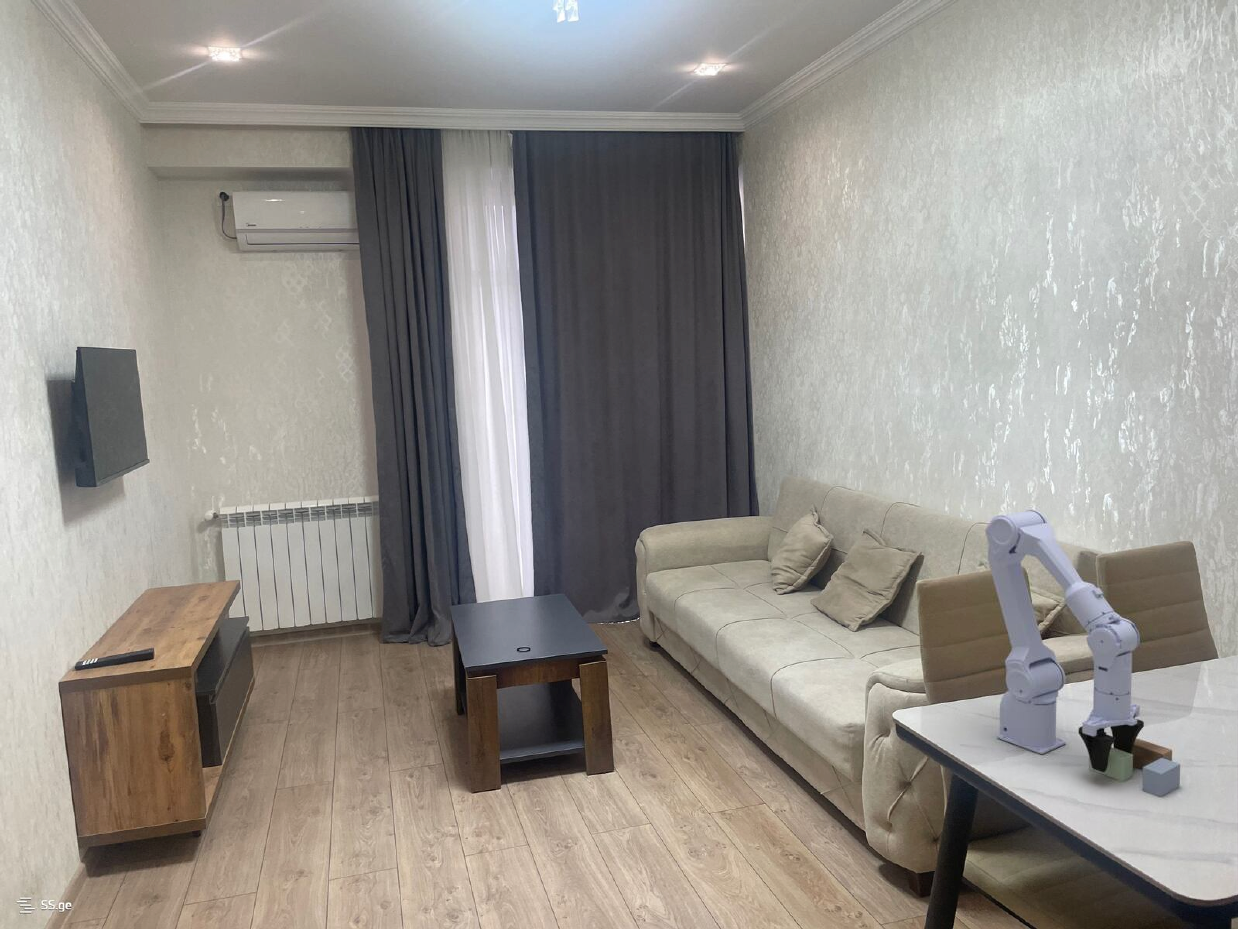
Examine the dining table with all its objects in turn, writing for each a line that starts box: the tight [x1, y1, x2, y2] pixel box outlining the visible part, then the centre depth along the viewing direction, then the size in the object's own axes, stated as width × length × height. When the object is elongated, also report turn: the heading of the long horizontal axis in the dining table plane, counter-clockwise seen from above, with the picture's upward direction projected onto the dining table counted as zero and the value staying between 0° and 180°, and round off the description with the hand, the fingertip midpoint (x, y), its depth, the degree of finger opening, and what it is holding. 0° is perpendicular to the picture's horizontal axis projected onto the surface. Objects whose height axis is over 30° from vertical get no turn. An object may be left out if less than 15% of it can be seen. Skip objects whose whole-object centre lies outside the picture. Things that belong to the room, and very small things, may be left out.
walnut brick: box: [1131, 738, 1173, 770], centre depth 158 cm, size 6×3×4 cm, turn 32°
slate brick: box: [1141, 758, 1181, 798], centre depth 150 cm, size 6×3×4 cm, turn 122°
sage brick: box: [1088, 746, 1134, 782], centre depth 157 cm, size 6×3×4 cm, turn 32°
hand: (1110, 764), depth 157 cm, fingers open, 7 cm apart
